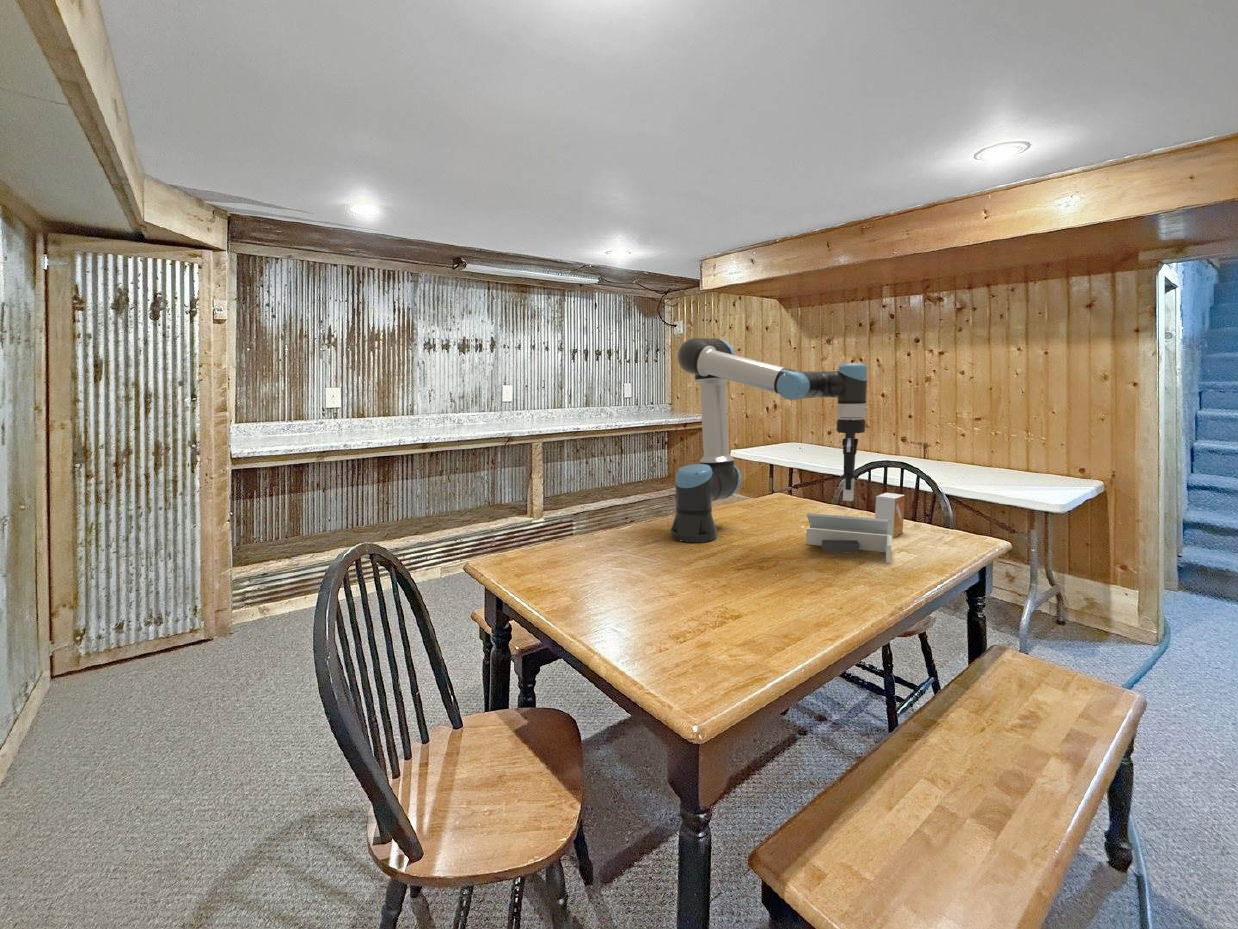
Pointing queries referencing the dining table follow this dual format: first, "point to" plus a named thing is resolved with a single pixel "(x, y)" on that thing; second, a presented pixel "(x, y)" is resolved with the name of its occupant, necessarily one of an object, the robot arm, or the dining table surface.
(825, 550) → the dark blue-grey block
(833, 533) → the grey bench block
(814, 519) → the cover
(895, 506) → the small box
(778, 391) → the robot arm
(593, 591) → the dining table surface
